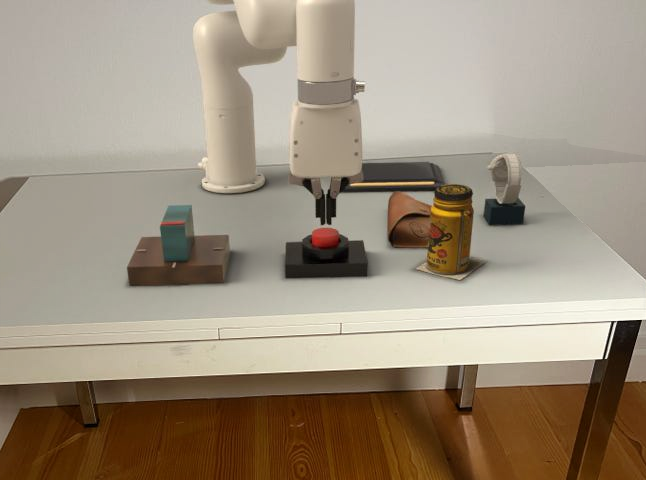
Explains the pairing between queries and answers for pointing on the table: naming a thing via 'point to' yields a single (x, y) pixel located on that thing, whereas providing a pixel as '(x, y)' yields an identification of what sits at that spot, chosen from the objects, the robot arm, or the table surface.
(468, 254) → the condiment
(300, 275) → the button box
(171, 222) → the teal rectangular block
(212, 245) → the base
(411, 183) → the wallet
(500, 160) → the watch
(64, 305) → the table surface
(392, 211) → the sunglasses case
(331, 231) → the button
